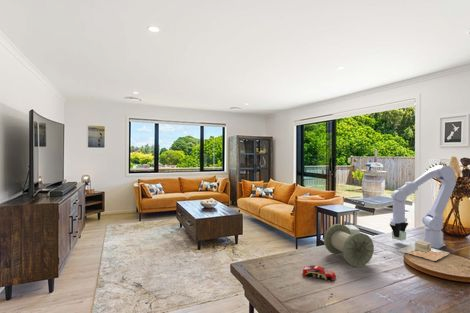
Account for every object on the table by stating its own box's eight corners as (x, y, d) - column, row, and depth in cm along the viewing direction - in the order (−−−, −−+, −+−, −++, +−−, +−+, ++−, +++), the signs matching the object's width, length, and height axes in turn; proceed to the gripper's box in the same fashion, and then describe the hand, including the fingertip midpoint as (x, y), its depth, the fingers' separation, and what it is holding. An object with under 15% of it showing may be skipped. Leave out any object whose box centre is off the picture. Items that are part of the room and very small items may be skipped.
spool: (324, 254, 133) (323, 225, 133) (349, 251, 137) (349, 222, 137) (345, 268, 117) (345, 234, 117) (373, 264, 121) (373, 232, 121)
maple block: (419, 248, 137) (419, 240, 137) (430, 251, 133) (430, 243, 133) (415, 250, 134) (415, 242, 134) (426, 253, 130) (426, 245, 130)
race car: (336, 277, 110) (336, 267, 110) (335, 283, 105) (335, 273, 105) (304, 271, 115) (304, 262, 115) (301, 276, 110) (301, 267, 110)
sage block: (396, 236, 151) (396, 229, 151) (406, 239, 147) (406, 231, 147) (392, 238, 149) (392, 231, 149) (401, 240, 144) (401, 233, 144)
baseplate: (413, 245, 145) (413, 242, 145) (449, 254, 131) (449, 251, 131) (398, 251, 136) (398, 249, 136) (435, 262, 122) (435, 259, 122)
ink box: (343, 246, 145) (343, 224, 145) (353, 246, 145) (353, 224, 145) (350, 252, 136) (350, 229, 136) (360, 251, 136) (360, 229, 136)
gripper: (397, 208, 155) (397, 232, 155) (384, 212, 147) (384, 236, 147) (411, 211, 149) (411, 235, 149) (398, 214, 141) (398, 240, 141)
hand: (399, 236), depth 148 cm, fingers closed on sage block, 5 cm apart
